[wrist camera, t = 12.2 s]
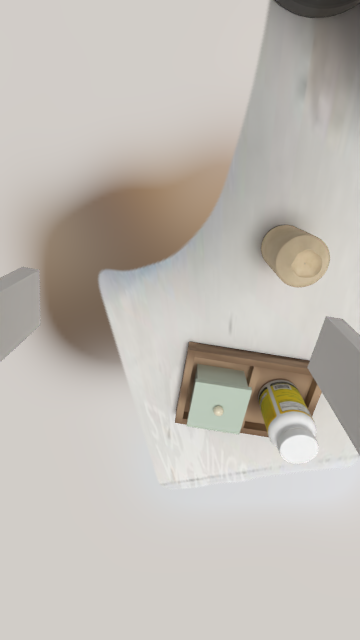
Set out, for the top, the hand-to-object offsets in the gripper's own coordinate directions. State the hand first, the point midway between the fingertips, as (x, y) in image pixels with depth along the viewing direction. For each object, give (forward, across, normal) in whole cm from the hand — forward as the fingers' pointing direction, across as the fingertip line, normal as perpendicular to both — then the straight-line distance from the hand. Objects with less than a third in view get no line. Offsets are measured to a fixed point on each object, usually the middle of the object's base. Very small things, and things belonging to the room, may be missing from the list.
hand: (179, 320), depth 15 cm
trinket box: (+28, +8, -22) cm, 36 cm away
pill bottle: (+28, +17, -22) cm, 39 cm away
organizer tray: (+29, +12, -22) cm, 38 cm away
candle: (+29, +12, 0) cm, 31 cm away
